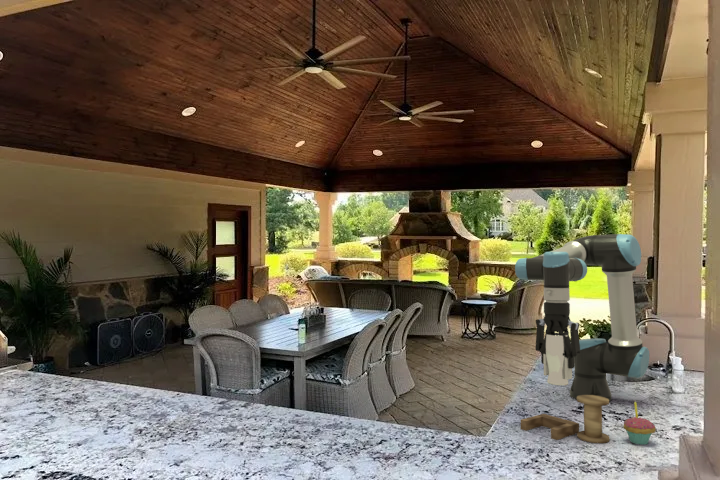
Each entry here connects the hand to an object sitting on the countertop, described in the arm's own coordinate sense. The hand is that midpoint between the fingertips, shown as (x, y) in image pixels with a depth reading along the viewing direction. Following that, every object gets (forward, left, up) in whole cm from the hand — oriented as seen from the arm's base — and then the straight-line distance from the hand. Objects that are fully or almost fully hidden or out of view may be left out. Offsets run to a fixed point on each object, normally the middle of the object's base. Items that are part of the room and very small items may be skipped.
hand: (557, 376), depth 164 cm
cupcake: (-16, +17, -18) cm, 30 cm away
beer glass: (0, 0, -2) cm, 2 cm away
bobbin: (-7, +7, -18) cm, 21 cm away
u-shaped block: (-3, -5, -18) cm, 19 cm away
